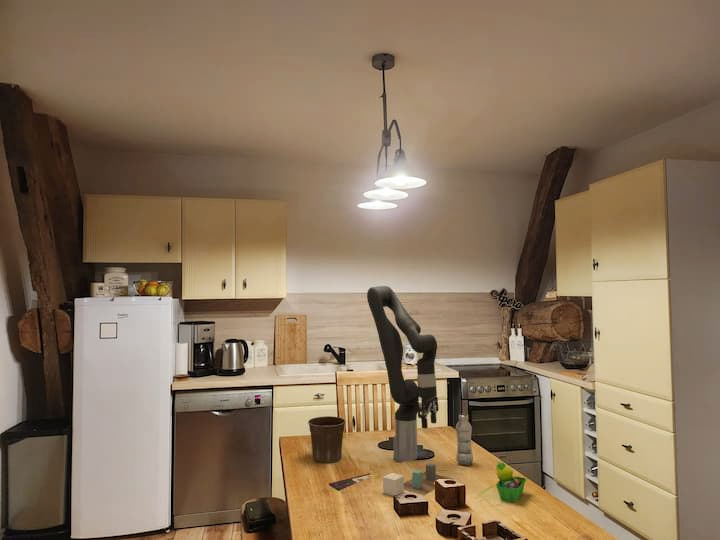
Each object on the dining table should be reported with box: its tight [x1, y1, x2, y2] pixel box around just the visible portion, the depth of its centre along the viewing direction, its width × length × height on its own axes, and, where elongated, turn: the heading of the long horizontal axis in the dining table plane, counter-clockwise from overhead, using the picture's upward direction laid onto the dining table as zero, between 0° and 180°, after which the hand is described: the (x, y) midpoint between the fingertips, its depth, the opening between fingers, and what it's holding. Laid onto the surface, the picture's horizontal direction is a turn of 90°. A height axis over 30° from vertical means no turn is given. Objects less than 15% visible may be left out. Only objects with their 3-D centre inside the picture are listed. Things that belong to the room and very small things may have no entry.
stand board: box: [404, 471, 454, 496], centre depth 186 cm, size 20×12×1 cm, turn 140°
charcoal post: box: [425, 462, 437, 481], centre depth 190 cm, size 3×3×5 cm
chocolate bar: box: [328, 473, 374, 493], centre depth 190 cm, size 9×1×18 cm
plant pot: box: [307, 415, 346, 464], centre depth 219 cm, size 16×16×16 cm
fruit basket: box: [495, 461, 527, 503], centre depth 176 cm, size 11×9×11 cm
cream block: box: [382, 472, 405, 497], centre depth 178 cm, size 5×5×7 cm
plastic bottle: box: [455, 413, 474, 466], centre depth 210 cm, size 6×7×20 cm
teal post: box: [411, 469, 423, 489], centre depth 183 cm, size 3×3×5 cm
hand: (429, 425), depth 205 cm, fingers open, 8 cm apart
